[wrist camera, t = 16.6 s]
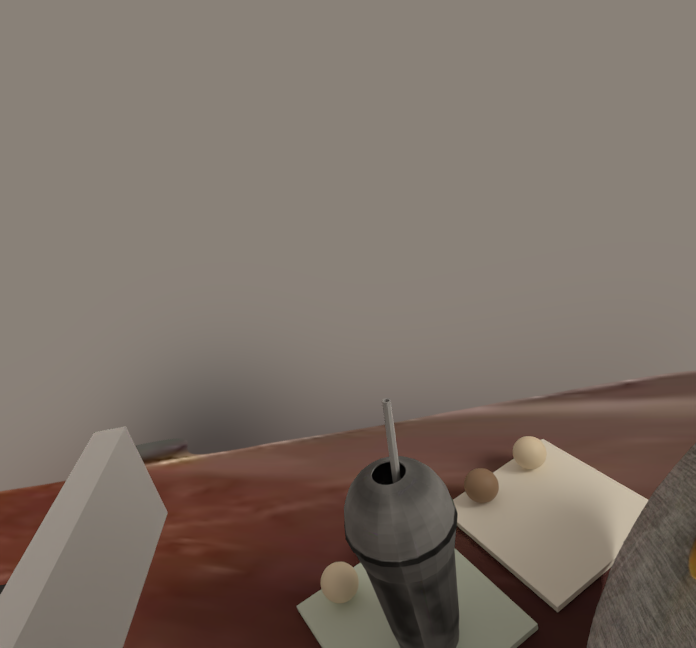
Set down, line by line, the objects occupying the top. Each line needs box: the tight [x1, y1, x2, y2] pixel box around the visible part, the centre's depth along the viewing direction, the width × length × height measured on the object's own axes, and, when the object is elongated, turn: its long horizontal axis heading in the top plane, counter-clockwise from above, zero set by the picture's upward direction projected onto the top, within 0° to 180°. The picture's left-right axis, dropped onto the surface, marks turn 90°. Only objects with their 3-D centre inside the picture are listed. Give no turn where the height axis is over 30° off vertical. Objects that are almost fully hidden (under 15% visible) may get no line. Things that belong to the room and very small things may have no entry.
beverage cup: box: [344, 399, 459, 648], centre depth 38 cm, size 7×7×20 cm
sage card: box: [297, 548, 538, 648], centre depth 43 cm, size 13×13×4 cm
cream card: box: [453, 436, 648, 612], centre depth 49 cm, size 13×13×4 cm
